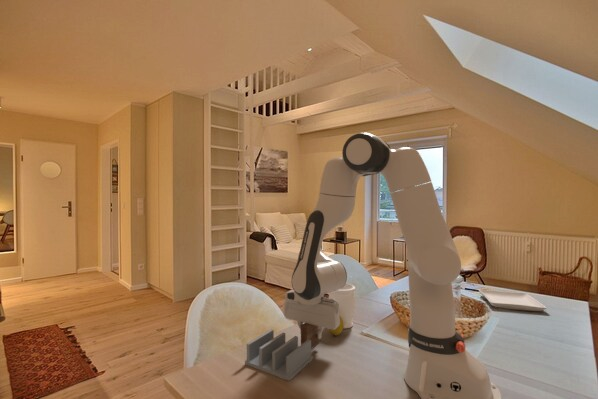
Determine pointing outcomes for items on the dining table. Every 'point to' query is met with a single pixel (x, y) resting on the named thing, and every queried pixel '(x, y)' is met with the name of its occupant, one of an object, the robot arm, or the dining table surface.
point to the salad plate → (512, 300)
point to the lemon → (338, 328)
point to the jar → (345, 303)
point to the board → (309, 334)
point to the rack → (278, 355)
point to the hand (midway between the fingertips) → (311, 336)
